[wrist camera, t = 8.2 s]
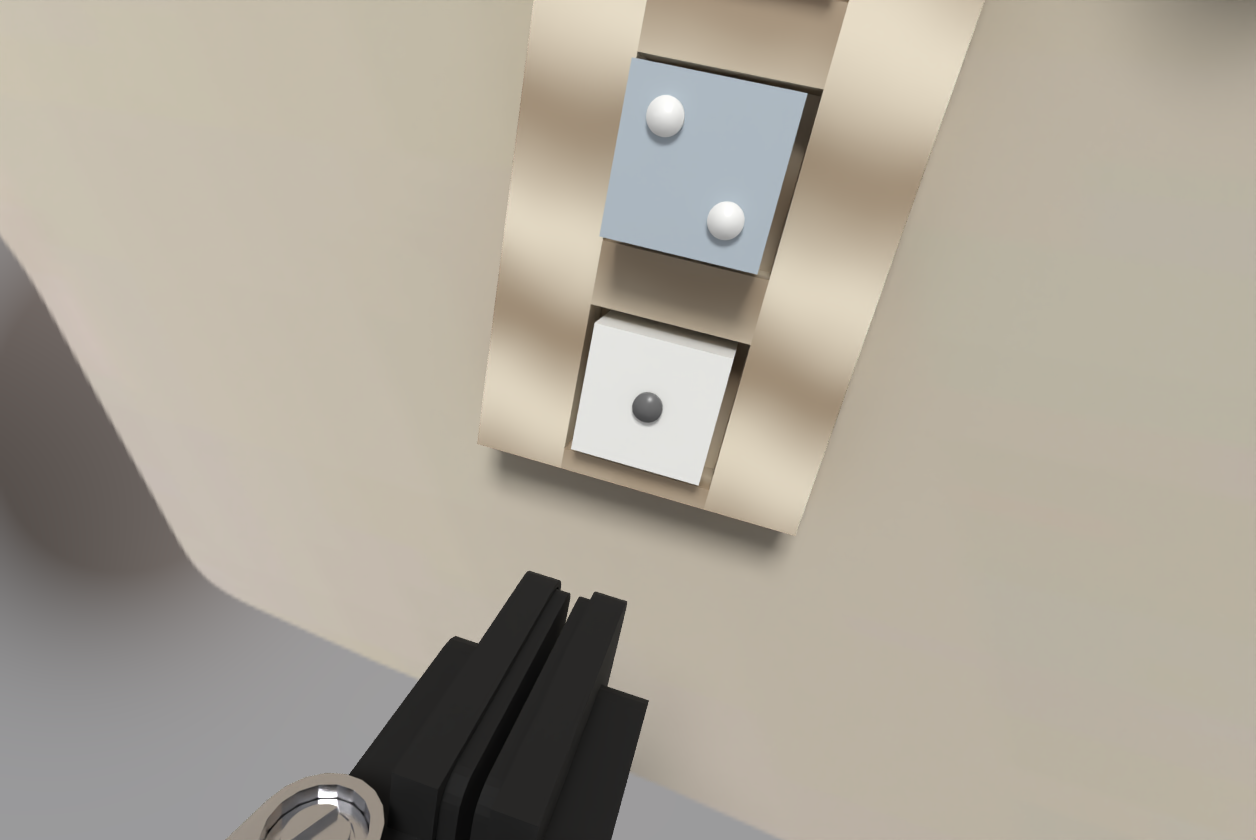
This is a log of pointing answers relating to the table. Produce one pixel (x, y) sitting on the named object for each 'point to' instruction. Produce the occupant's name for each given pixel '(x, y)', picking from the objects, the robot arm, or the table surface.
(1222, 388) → the table surface
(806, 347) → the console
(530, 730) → the robot arm
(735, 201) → the key
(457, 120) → the table surface
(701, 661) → the table surface
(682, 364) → the key
